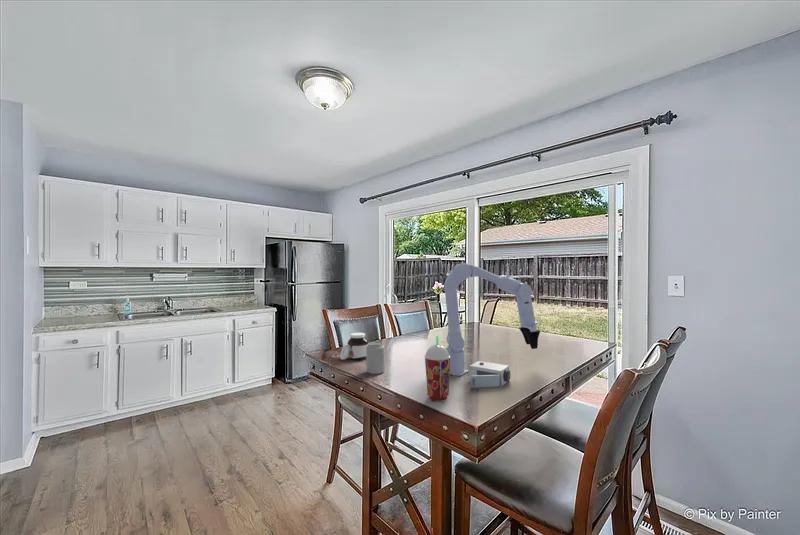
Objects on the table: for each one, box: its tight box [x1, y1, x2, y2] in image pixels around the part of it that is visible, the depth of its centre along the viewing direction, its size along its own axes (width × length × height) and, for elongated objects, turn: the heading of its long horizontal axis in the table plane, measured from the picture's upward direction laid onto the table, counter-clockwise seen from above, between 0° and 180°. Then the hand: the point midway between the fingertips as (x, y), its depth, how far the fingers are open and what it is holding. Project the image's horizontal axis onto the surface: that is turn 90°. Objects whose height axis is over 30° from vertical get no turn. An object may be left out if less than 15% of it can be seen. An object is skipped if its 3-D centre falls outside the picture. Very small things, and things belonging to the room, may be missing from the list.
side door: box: [470, 374, 503, 388], centre depth 119 cm, size 11×2×4 cm, turn 94°
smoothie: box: [424, 335, 451, 402], centre depth 110 cm, size 8×8×20 cm
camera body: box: [469, 360, 511, 387], centre depth 127 cm, size 13×8×6 cm, turn 54°
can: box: [365, 341, 386, 375], centre depth 139 cm, size 8×8×12 cm
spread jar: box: [340, 332, 369, 361], centre depth 160 cm, size 12×11×12 cm
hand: (531, 346), depth 136 cm, fingers open, 7 cm apart
